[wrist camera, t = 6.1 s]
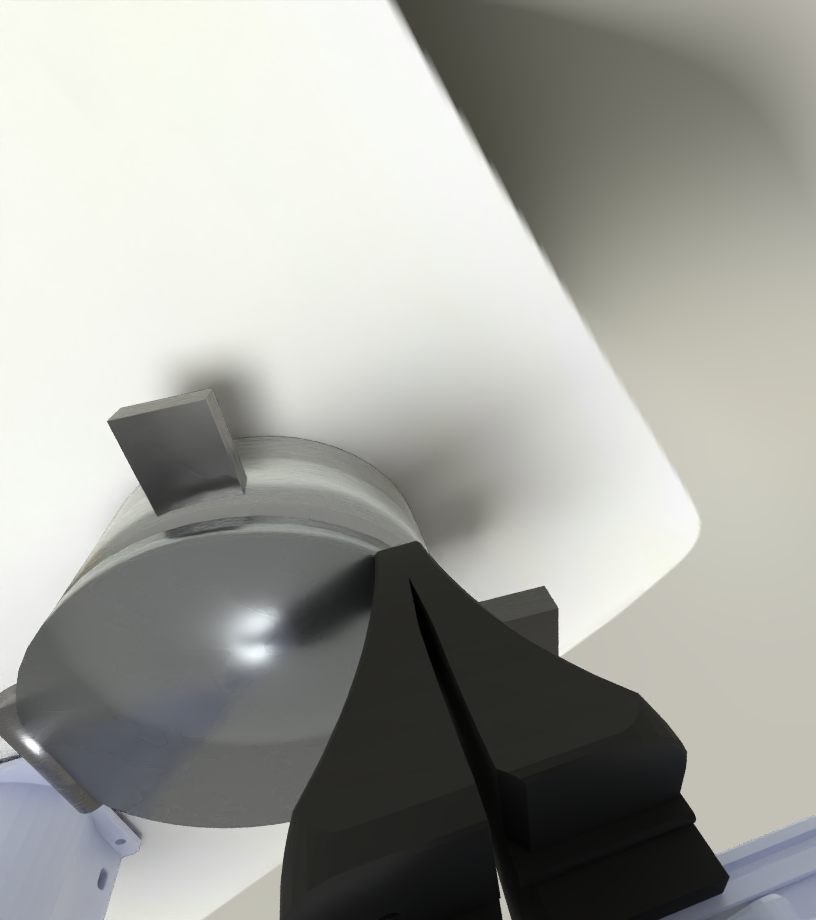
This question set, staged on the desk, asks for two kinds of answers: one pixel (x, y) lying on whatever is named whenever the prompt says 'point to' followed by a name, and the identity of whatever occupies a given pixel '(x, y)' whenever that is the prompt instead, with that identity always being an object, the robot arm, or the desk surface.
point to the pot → (239, 478)
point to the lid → (208, 669)
